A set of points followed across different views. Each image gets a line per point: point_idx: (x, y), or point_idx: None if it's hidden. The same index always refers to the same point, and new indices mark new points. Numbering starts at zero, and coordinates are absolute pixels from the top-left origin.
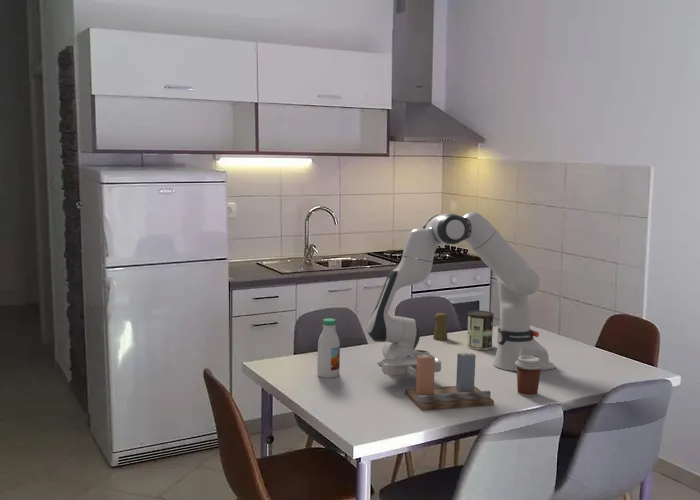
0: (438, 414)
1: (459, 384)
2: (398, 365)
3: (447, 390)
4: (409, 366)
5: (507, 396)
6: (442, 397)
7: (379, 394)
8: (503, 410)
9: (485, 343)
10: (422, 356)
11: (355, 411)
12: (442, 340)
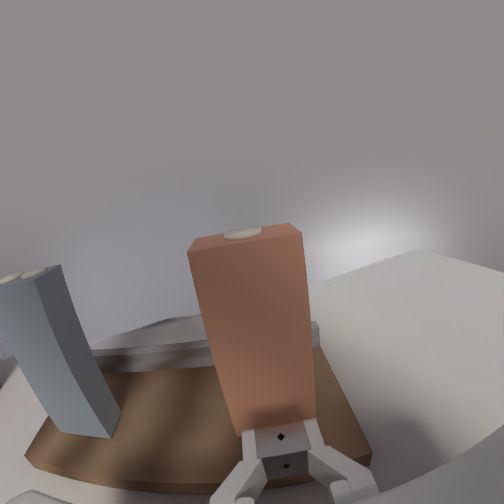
0: None
1: (107, 392)
2: (464, 452)
3: (152, 437)
4: (354, 490)
5: (21, 395)
6: None
7: (479, 423)
8: (103, 344)
9: None
10: (265, 233)
11: (477, 307)
12: None
